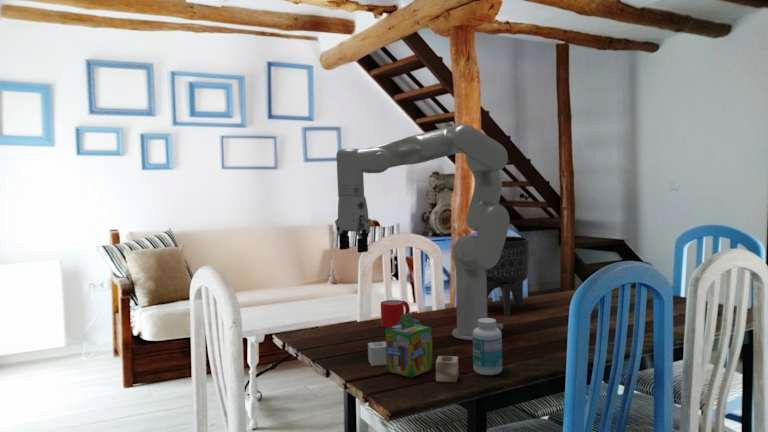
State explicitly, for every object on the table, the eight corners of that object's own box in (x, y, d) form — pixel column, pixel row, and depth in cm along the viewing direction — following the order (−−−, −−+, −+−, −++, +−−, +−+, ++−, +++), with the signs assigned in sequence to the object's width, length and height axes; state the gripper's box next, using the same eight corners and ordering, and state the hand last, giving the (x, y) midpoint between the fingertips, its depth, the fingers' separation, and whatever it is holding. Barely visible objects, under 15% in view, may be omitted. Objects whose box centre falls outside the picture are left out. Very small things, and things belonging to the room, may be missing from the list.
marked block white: (385, 358, 168) (385, 340, 167) (389, 364, 163) (389, 345, 163) (368, 360, 167) (367, 342, 166) (371, 366, 162) (370, 347, 162)
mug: (417, 322, 207) (416, 299, 207) (393, 329, 199) (392, 306, 198) (400, 318, 213) (399, 296, 212) (376, 325, 204) (375, 302, 204)
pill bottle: (470, 367, 158) (469, 317, 157) (497, 365, 159) (496, 315, 158) (477, 377, 151) (476, 324, 150) (505, 375, 151) (505, 322, 150)
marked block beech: (458, 375, 152) (458, 355, 152) (456, 382, 147) (455, 362, 147) (439, 374, 153) (438, 355, 153) (436, 381, 149) (435, 361, 148)
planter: (536, 315, 211) (535, 241, 209) (480, 317, 211) (479, 243, 209) (523, 303, 231) (522, 235, 229) (472, 304, 231) (471, 236, 229)
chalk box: (411, 379, 151) (410, 321, 150) (385, 371, 157) (383, 316, 156) (434, 369, 157) (433, 314, 156) (407, 362, 164) (406, 309, 163)
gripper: (378, 191, 167) (381, 251, 169) (346, 191, 182) (348, 246, 183) (356, 192, 163) (359, 254, 164) (324, 192, 177) (327, 249, 178)
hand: (353, 250), depth 174 cm, fingers open, 9 cm apart
